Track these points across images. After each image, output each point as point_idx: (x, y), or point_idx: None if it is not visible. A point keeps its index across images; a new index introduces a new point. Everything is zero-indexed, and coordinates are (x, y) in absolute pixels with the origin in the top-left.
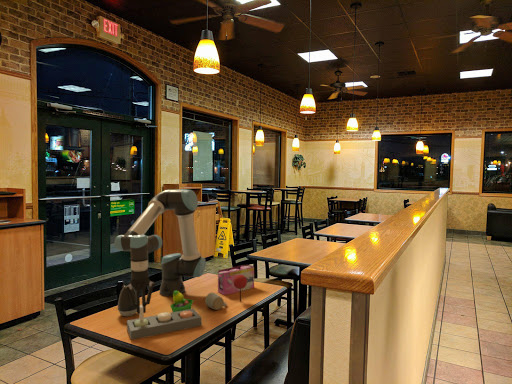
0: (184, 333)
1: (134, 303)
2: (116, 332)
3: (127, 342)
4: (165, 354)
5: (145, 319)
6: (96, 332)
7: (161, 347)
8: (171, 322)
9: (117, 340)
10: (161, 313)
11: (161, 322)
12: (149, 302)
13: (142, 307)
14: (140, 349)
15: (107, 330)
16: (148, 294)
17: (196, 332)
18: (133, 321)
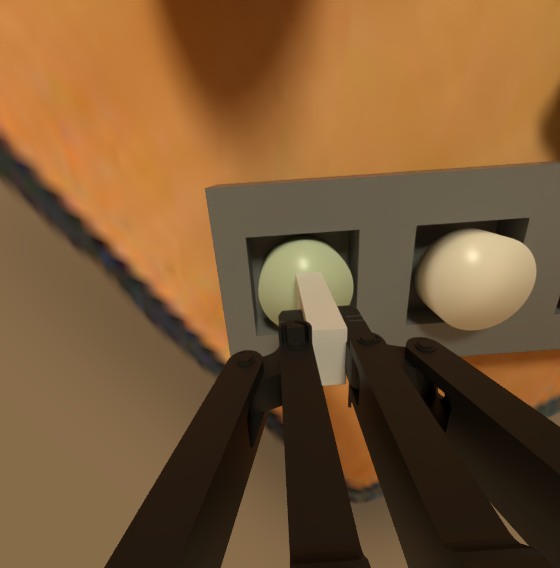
0: (485, 366)
1: (253, 432)
2: (152, 211)
3: (221, 358)
4: (351, 486)
5: (339, 265)
6: (14, 152)
7: (352, 443)
8: (476, 345)
9: (171, 320)
10: (477, 249)
11: (424, 324)
12: (432, 403)
13: (336, 381)
14: (273, 432)
15: (85, 148)
16: (503, 493)
17: (535, 375)
18: (254, 230)
